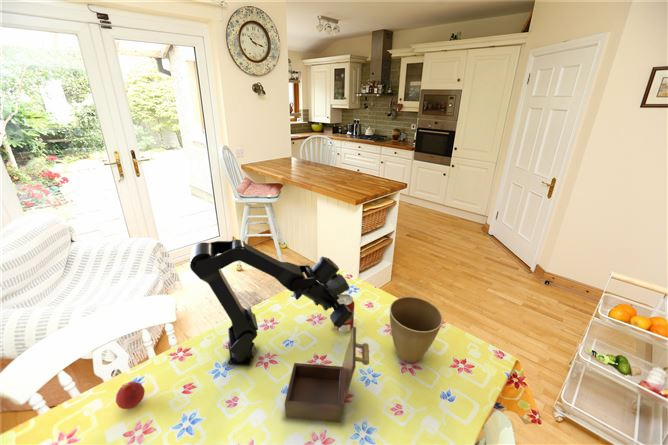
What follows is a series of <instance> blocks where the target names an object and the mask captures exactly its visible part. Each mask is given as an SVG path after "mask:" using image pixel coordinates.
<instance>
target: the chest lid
mask: <svg viewBox="0 0 668 445" xmlns="http://www.w3.org/2000/svg"><path fill="white" fill-rule="evenodd" d="M369 346H370V345H369V344H368V343H367V342H363V343H357V327H356V326H353V329H352V330H351V334H350V337H349V341H348V344H347V348H346V351H345V354H344V358H343V361H342V365H341V367H342V377H341V393H340V407H341V408H343V407H344V404H345V401H346V399H347V395H348V392H349V389H350V387H351V386H350V385H351V382H352V380H353V376H354V373H355V369H356V363H357V362H358V363H362V365H363V366H368V365H369V364H370V348H369ZM357 349H361V357H359V356H357V352H356V351H357Z"/></svg>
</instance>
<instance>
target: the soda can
mask: <svg viewBox="0 0 668 445" xmlns="http://www.w3.org/2000/svg"><path fill="white" fill-rule="evenodd" d="M338 296H339V299H338V300H337V301H338V302H339V304H343V303H344V304H346V305H347V306H348V308H349V309H350V311H351V312H352V316H353V318H352V319H349V320H347V321H346V322H345V323H344V324H343V325H342V326H341V327H340V328H337V327H336V326H334V325H333V329H334V330H335V331H337V332H339V333H341V334H346V333H349V332H352V330H353V327H354V319H355V301H354V300H353V299H354V298H353V297H352V296H351V295H350V294H348V293H342V294H340V295H338Z"/></svg>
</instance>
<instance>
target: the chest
mask: <svg viewBox="0 0 668 445" xmlns="http://www.w3.org/2000/svg"><path fill="white" fill-rule="evenodd" d="M341 377H342V365H341V366H339V365H326V364H313V363H312V364H311V363H300V362H294V363H293V366H292V371H291V375H290V379H289V383H288V388H287V392H286V396H285V401H284V414H285V418H286V419H296V420H297V419H298V420H309V421H317V422H318V421H319V422H329V423H331V422H332V423H341V421H342V420H341V419H342V407H340V393H341Z"/></svg>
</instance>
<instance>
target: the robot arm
mask: <svg viewBox="0 0 668 445" xmlns="http://www.w3.org/2000/svg"><path fill="white" fill-rule="evenodd" d="M236 262H242V263H244V264H246V265H248V266H250V267H252V268H254V269H257V270H258V271H260V272H262V273H264V274H267V275H268V276H271V277H273V279H275V280H276V281H278V282H279V284H280V285H282V286H283V287H284V288H286V289H287V290H288V291H290V292H292V293H293V295H294V297H295V300H296V301H298V300H299V299H300V298H301V297H303V296H304V297H306V298H308V299H309V300H311V301H312V302H313V303H314V305H315V306H317V307H318V306H321V307H322V308H323V310H324V311H325V312H327V311H328V309H332V310H333V311H332V312H331V313H330V315H329V319H330V321H331V323H332V325H333V327H334V326H336V327H337V328H340V327H341V326H342V325H343V324H344V323H345V322H346V321H347V320H349V319H352V318H353V316H352V312H351V311H350V309H349V308H348V306H347V305H346V304H344V303H343V304H339V302H338V301H337V300H338V299H339V296H338V295H340V294H344V293H345V292H347V291H349V289H350V285H349V283H348V281H347V280H346V278H345V277H344V276H343V274H341V273H338V272H339V271H340V267H339V265H337V263H335V262H334V261H333V260H332V259H330V258H329V257H326V256H323V255H322V256H321V257H320V258H319V259H318V261H317V262H316V263H315V264H314V265H313V266H312V267H311V266H310V265H309V264H301V265H300V264H295V263H292V262H289V261H281V260H278V259H276V258H274V257H273V256H270V255H269V254H267V253H265V252H264V251H261V250H259V249H257V248H256V247H253V246H252V245H249V244H248V243H247V242H245V241H244V240H241V239H234V240H216V241H212V242H211V241H210V242H198V243H196V244H195V245H194V246H193V247H192V249H191V251H190V261H189V268H190V270H191V271H192V273H194V274H195V276H197V278H198V279H199V280H201V281H203V282H205V283H207V285H208V286H209V287H210V289H211V291H212V292H213V294H214V295H215V297H216V299H217V300H218V302H219V304H220V305H221V307H222V308H223V310H224V312H225V313H226V314H227V317H229V318H228V319H229V320H230V322H231V325H230V326H229V327H228V329H227V332H228V333H227V334H228V343H227V347H228V348H227V349H228V351H229V352H228V354H229V359H228V362H227V364H228V365H232V366H244V367H246V366H247V367H250V365H251V363H252V360H254V357H255V355H256V353H257V352H256V351H257V347H256V344H255V342H254V340H255V339H256V338H257V336H258V330H259V327H258V321H257V317H256V314H255V313H253V311H252V307H251V306H249V307H247V308H244V307H243V306H242V304H241V302H240V300H239V299H238V297H237V296H236V293H235V292H234V290H233V288H232V287H231V285H230V283H229V281H228V280H227V278H226V276H225V274H224V273H223V271H222V269H224V268H226V267H228V266H229V265H231V264H233V263H236ZM305 276H306V277H305Z"/></svg>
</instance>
